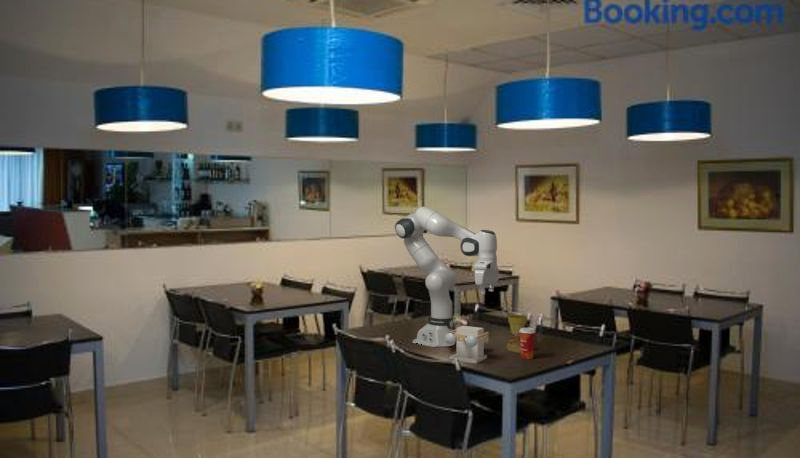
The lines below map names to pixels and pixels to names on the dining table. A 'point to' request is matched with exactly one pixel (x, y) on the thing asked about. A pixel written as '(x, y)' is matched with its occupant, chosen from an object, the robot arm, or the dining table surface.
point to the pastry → (514, 343)
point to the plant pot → (516, 323)
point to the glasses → (470, 340)
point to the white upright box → (470, 353)
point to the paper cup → (527, 342)
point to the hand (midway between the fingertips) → (487, 292)
